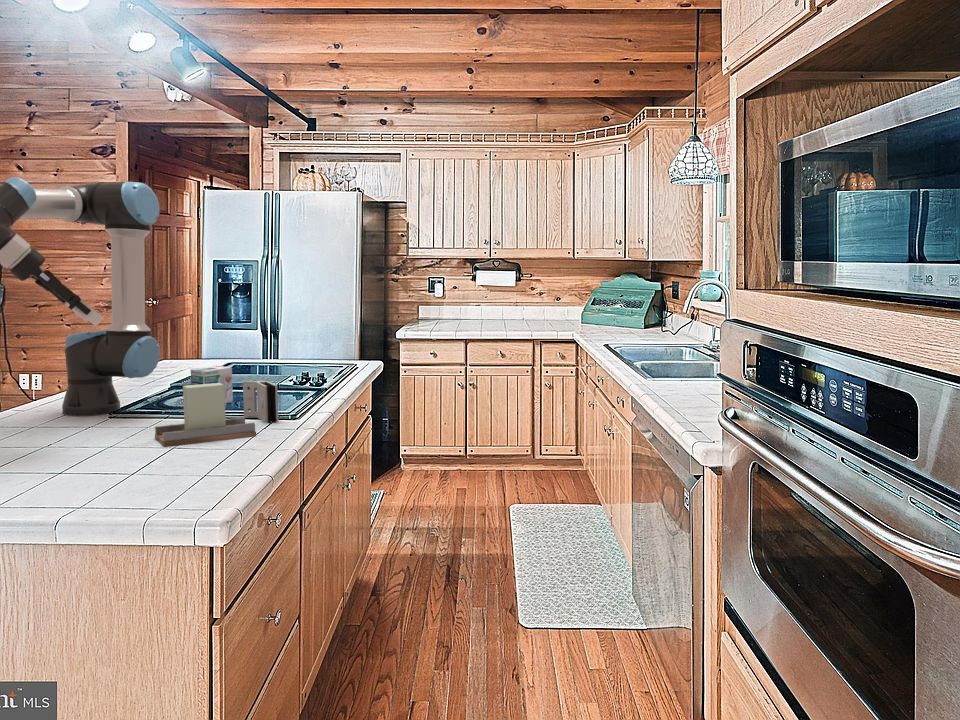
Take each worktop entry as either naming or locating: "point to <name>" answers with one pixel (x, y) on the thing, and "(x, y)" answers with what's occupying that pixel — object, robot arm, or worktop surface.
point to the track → (203, 432)
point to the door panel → (204, 406)
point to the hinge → (261, 400)
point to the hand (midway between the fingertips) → (94, 320)
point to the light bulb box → (214, 378)
